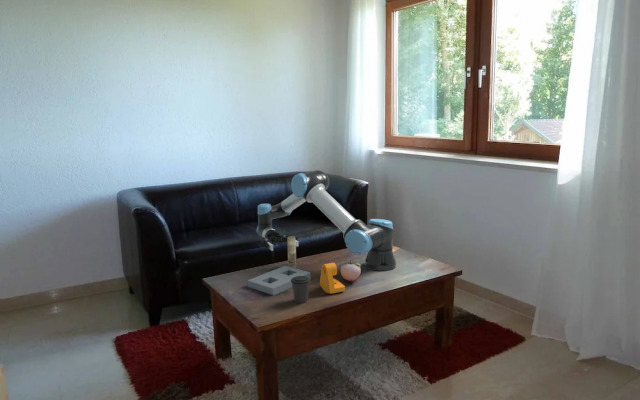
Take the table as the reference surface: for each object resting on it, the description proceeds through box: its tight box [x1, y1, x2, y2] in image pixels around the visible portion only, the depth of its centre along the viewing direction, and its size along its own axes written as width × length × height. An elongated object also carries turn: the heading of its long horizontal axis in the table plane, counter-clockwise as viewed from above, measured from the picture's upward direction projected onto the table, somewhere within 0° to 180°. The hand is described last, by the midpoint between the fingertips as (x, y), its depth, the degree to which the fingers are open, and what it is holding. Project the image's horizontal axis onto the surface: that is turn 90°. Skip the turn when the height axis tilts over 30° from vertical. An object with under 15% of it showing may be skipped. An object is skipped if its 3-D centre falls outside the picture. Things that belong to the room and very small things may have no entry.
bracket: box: [319, 262, 346, 295], centre depth 208 cm, size 11×7×12 cm, turn 24°
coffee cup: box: [291, 276, 311, 304], centre depth 197 cm, size 8×8×10 cm
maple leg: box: [286, 235, 297, 268], centre depth 237 cm, size 4×4×15 cm
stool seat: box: [247, 265, 312, 296], centre depth 218 cm, size 24×16×3 cm, turn 140°
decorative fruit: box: [339, 259, 362, 283], centre depth 216 cm, size 9×8×10 cm
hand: (285, 246), depth 244 cm, fingers open, 13 cm apart
